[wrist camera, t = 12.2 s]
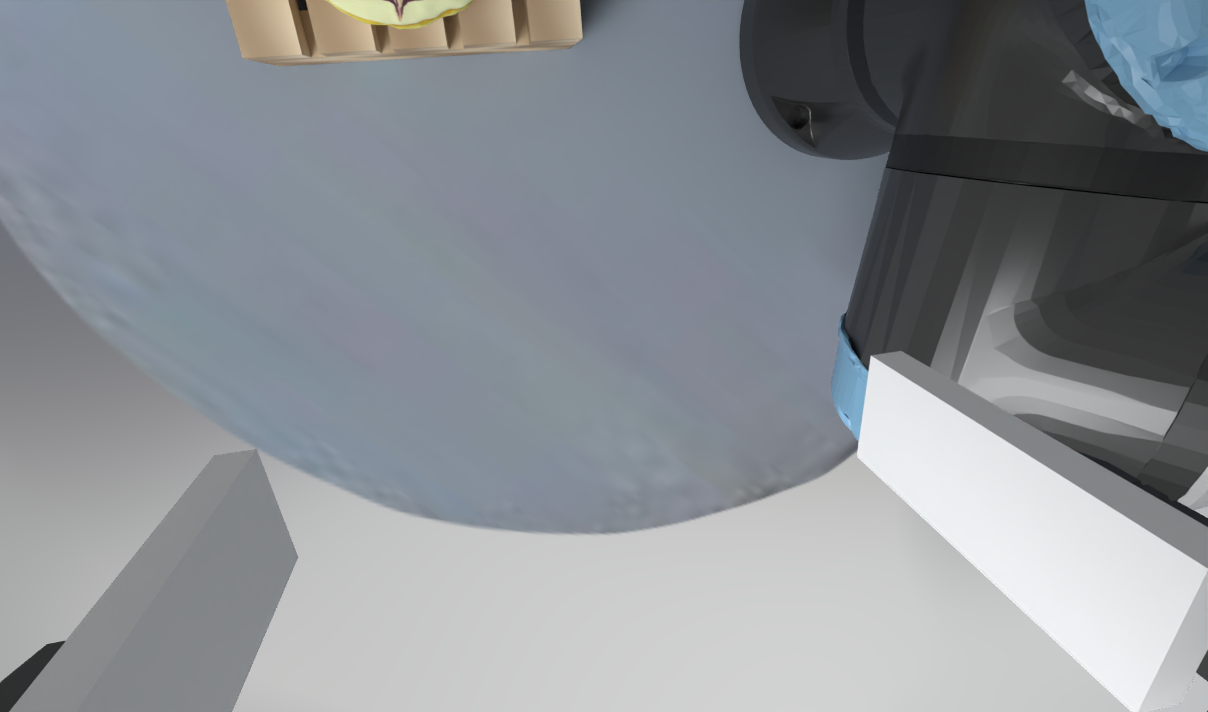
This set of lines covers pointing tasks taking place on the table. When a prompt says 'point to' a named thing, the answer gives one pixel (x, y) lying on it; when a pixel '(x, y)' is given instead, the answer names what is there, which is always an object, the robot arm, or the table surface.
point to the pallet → (399, 31)
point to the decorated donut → (400, 11)
